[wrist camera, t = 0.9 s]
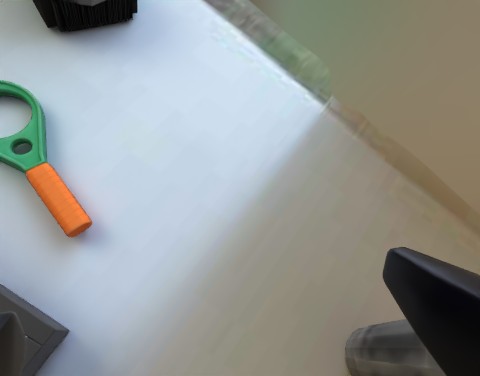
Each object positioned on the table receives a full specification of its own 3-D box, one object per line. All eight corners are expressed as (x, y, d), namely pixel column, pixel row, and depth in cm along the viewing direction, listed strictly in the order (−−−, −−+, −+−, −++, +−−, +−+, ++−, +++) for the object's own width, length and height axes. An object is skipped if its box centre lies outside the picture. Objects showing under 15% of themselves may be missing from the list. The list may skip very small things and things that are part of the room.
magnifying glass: (-60, 106, 25) (-73, 91, 24) (19, 79, 28) (12, 64, 27) (42, 258, 23) (36, 252, 21) (118, 212, 26) (117, 204, 24)
